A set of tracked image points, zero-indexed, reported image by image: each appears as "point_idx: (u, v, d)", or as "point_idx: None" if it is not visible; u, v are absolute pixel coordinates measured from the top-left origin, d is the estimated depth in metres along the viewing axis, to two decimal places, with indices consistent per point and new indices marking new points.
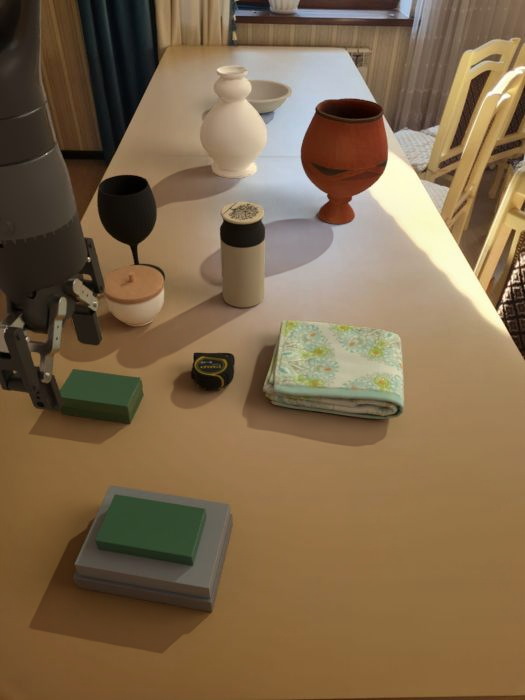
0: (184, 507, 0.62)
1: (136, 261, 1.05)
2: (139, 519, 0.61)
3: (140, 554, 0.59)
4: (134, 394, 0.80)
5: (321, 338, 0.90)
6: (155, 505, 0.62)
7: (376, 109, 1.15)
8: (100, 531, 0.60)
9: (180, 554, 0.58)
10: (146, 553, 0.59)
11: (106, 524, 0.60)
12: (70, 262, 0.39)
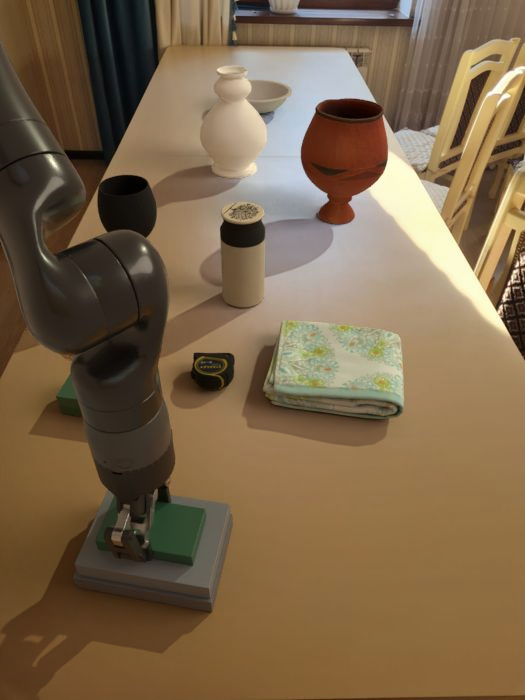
0: (184, 507, 0.62)
1: None
2: None
3: None
4: None
5: (321, 338, 0.90)
6: (155, 505, 0.62)
7: (376, 109, 1.15)
8: (100, 531, 0.60)
9: (180, 554, 0.58)
10: None
11: (106, 525, 0.60)
12: (166, 473, 0.51)
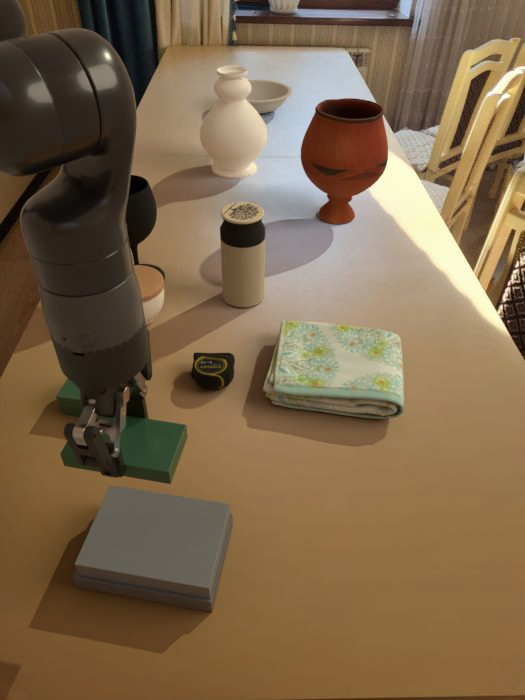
0: (162, 422, 0.56)
1: (136, 261, 1.05)
2: None
3: None
4: None
5: (321, 338, 0.90)
6: (130, 421, 0.56)
7: (376, 110, 1.15)
8: (67, 445, 0.53)
9: (156, 469, 0.51)
10: None
11: None
12: (138, 362, 0.44)
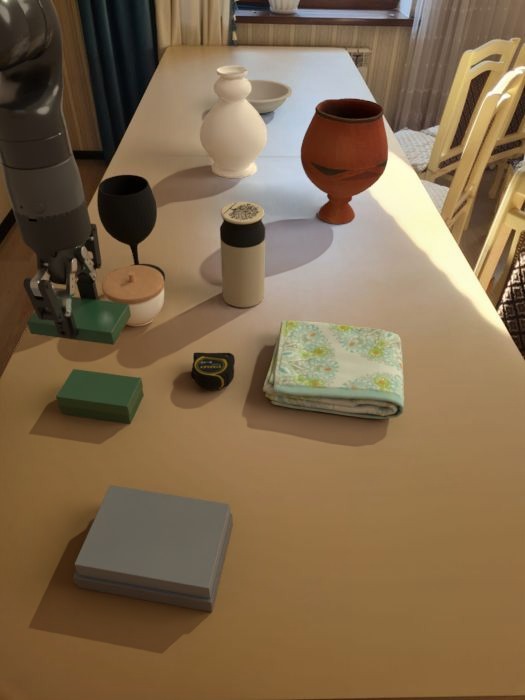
0: (109, 302, 0.70)
1: (136, 261, 1.05)
2: None
3: None
4: (134, 394, 0.80)
5: (321, 338, 0.90)
6: (84, 301, 0.70)
7: (376, 110, 1.15)
8: (32, 316, 0.67)
9: (101, 330, 0.65)
10: None
11: None
12: (80, 233, 0.58)
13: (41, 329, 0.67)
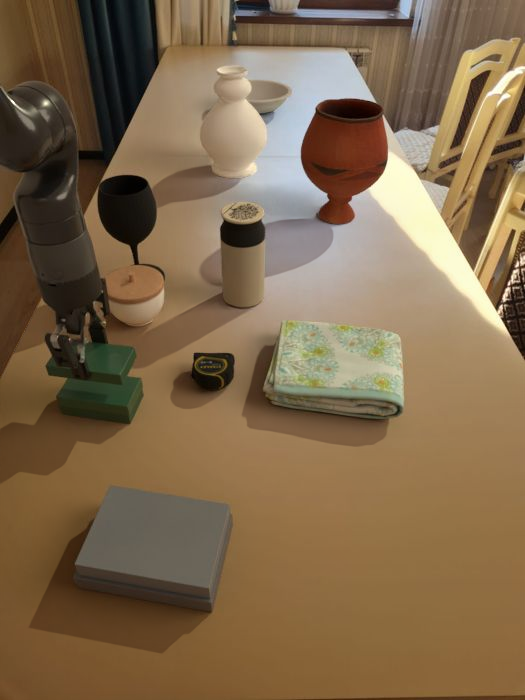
0: (117, 346, 0.78)
1: (136, 261, 1.05)
2: None
3: None
4: (134, 394, 0.80)
5: (321, 338, 0.90)
6: (95, 345, 0.78)
7: (376, 110, 1.15)
8: (50, 360, 0.76)
9: (111, 373, 0.74)
10: None
11: None
12: (93, 293, 0.67)
13: (58, 372, 0.76)
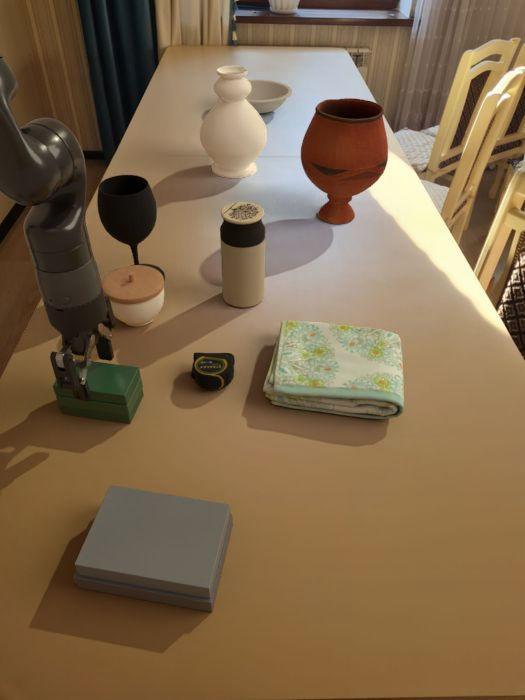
0: (122, 366, 0.81)
1: (136, 261, 1.05)
2: (87, 373, 0.80)
3: None
4: (134, 394, 0.80)
5: (321, 338, 0.90)
6: (100, 365, 0.81)
7: (376, 110, 1.15)
8: None
9: (116, 393, 0.77)
10: (91, 394, 0.78)
11: None
12: (98, 317, 0.70)
13: (65, 392, 0.78)
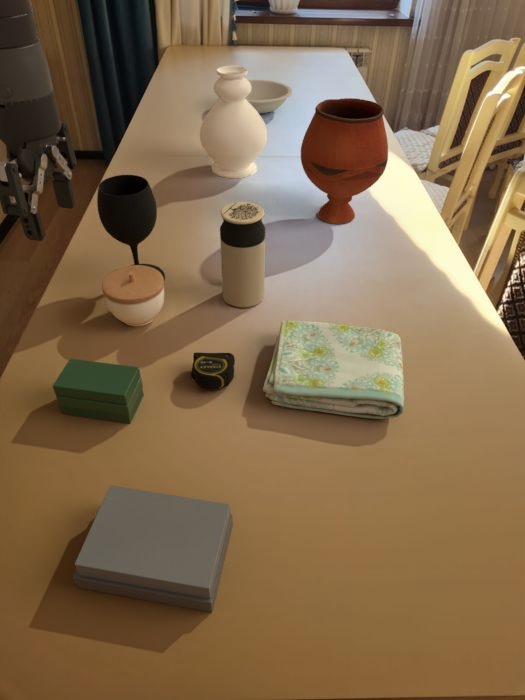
0: (122, 366, 0.81)
1: (136, 261, 1.05)
2: (87, 373, 0.80)
3: (87, 397, 0.78)
4: (134, 394, 0.80)
5: (321, 338, 0.90)
6: (100, 365, 0.81)
7: (376, 110, 1.15)
8: (57, 380, 0.79)
9: (116, 393, 0.77)
10: (91, 395, 0.78)
11: (61, 376, 0.79)
12: (48, 124, 0.60)
13: (65, 392, 0.78)
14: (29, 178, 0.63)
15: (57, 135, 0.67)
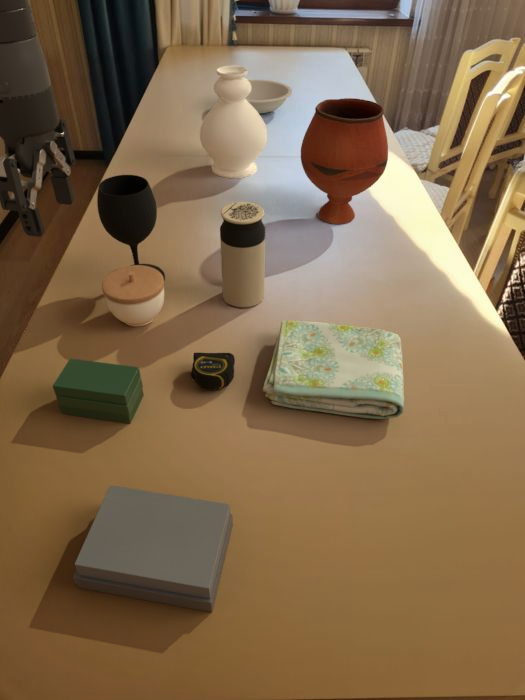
0: (122, 366, 0.81)
1: (136, 261, 1.05)
2: (87, 373, 0.80)
3: (87, 397, 0.78)
4: (134, 394, 0.80)
5: (321, 338, 0.90)
6: (100, 365, 0.81)
7: (376, 110, 1.15)
8: (57, 380, 0.79)
9: (116, 394, 0.77)
10: (91, 395, 0.78)
11: (61, 376, 0.79)
12: (46, 120, 0.60)
13: (65, 392, 0.78)
14: (27, 174, 0.63)
15: (55, 131, 0.67)
